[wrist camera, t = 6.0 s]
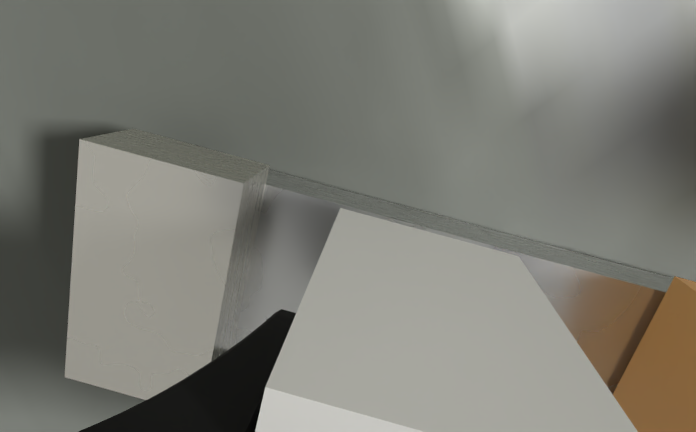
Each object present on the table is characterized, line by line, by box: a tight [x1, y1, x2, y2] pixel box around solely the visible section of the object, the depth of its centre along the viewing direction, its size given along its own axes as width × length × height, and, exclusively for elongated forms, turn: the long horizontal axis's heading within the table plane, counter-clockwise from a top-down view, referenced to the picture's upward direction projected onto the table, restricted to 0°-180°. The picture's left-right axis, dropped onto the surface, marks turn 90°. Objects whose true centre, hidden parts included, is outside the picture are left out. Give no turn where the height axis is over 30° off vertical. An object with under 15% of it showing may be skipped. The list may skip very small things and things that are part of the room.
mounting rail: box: [65, 129, 674, 400], centre depth 12 cm, size 6×29×4 cm, turn 76°
